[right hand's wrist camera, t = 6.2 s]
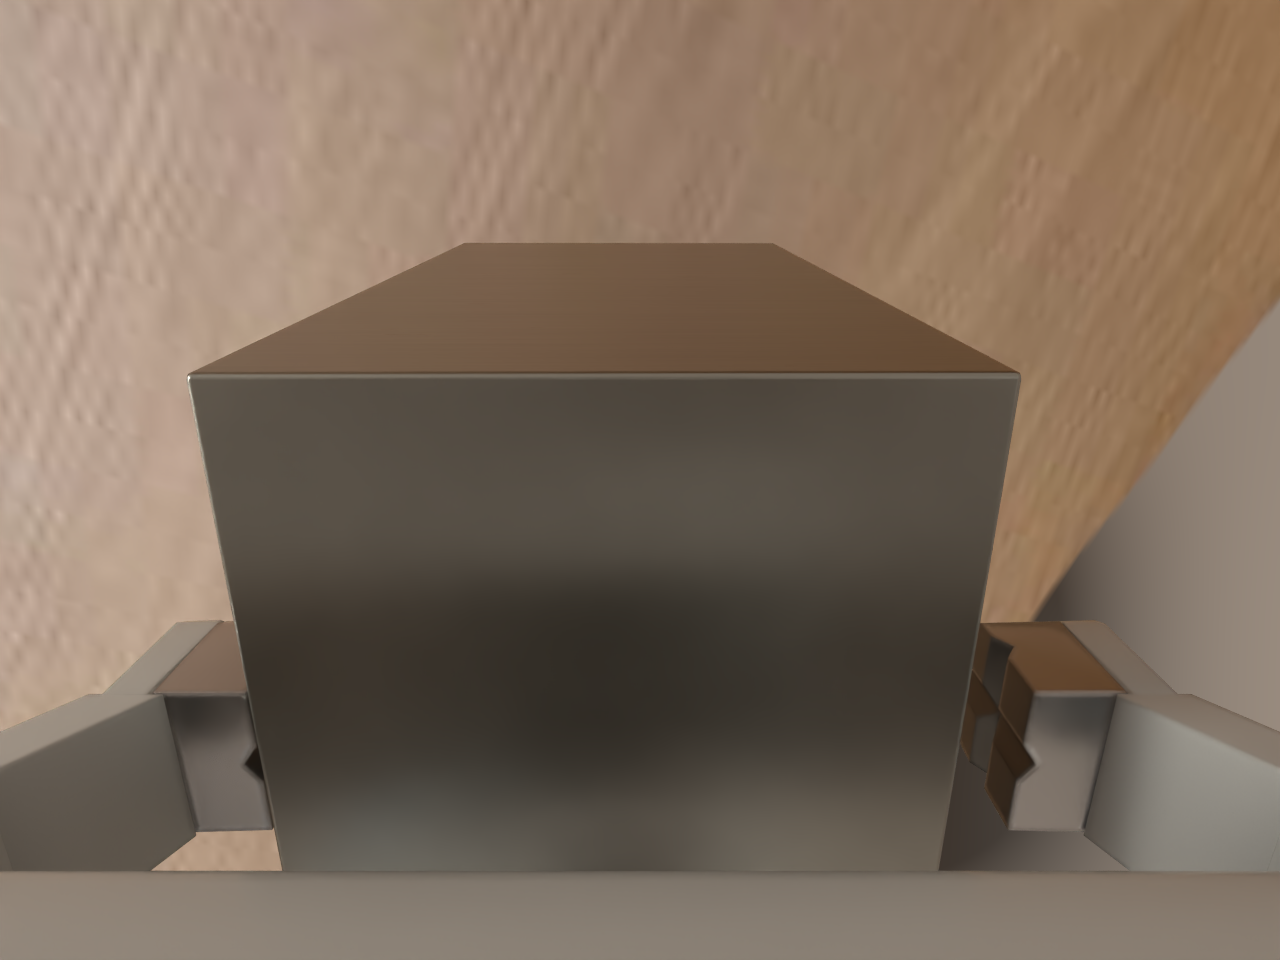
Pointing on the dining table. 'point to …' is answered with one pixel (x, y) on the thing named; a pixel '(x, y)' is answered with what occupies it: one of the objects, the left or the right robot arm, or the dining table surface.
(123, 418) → the dining table surface
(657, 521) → the box
